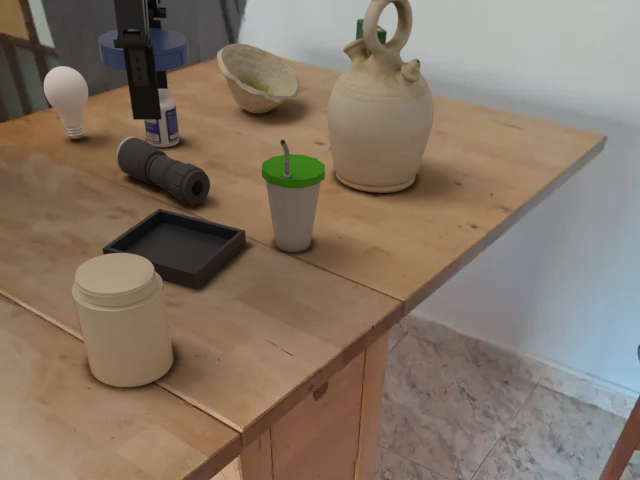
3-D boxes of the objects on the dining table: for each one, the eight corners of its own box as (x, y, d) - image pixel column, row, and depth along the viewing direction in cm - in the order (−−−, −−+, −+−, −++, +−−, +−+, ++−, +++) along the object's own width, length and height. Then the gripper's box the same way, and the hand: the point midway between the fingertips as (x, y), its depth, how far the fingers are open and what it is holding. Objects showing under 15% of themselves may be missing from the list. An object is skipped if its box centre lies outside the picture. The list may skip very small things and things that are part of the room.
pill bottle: (176, 134, 116) (170, 78, 110) (182, 146, 113) (176, 88, 107) (144, 137, 115) (136, 81, 109) (150, 149, 111) (142, 91, 105)
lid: (206, 55, 71) (204, 36, 70) (157, 77, 65) (155, 57, 64) (135, 41, 73) (133, 22, 72) (82, 62, 68) (79, 42, 66)
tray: (105, 262, 85) (102, 248, 84) (160, 222, 93) (158, 208, 92) (196, 288, 81) (195, 274, 80) (246, 244, 90) (245, 230, 88)
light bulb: (90, 129, 117) (76, 58, 109) (102, 142, 113) (89, 70, 105) (50, 135, 114) (33, 63, 106) (61, 149, 110) (45, 75, 102)
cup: (295, 224, 94) (296, 110, 84) (334, 246, 90) (341, 129, 80) (250, 242, 90) (246, 124, 80) (290, 265, 86) (290, 145, 76)
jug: (311, 163, 110) (315, -21, 92) (399, 153, 114) (419, -25, 97) (346, 204, 99) (358, 6, 82) (441, 191, 103) (472, 1, 86)
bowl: (267, 131, 119) (266, 69, 112) (204, 114, 124) (199, 53, 117) (314, 108, 128) (315, 48, 121) (253, 92, 133) (251, 34, 126)
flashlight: (215, 200, 99) (212, 163, 95) (186, 212, 96) (182, 174, 92) (148, 168, 106) (143, 132, 102) (119, 178, 103) (113, 142, 99)
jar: (72, 372, 69) (48, 282, 62) (122, 329, 75) (105, 242, 68) (142, 396, 67) (125, 305, 60) (188, 350, 73) (178, 262, 66)
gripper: (150, -177, 49) (182, 141, 65) (170, -188, 65) (192, 71, 80) (42, -182, 49) (100, 141, 64) (88, -192, 64) (126, 70, 80)
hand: (151, 102), depth 72 cm, fingers closed on lid, 9 cm apart
